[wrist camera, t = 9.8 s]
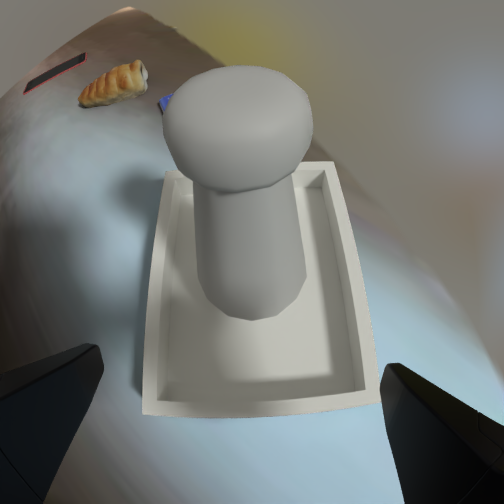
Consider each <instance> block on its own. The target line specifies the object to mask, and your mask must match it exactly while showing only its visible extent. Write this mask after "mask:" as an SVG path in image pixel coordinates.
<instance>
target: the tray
mask: <svg viewBox="0 0 504 504" xmlns="http://www.w3.org/2000/svg"><path fill="white" fill-rule="evenodd" d="M291 175H292V180H293V186H294V193H295V199H296V205H297V211H298V218H299V225H300V231H301V238H302V244H303V249H304V255H305V264H306V274H307V278H306V280H305V282H304V284H303V286H302V288H301V290H300V293H299V295H298V297H297V298H296V300H295V301H294V302H292V303H291V304H290V305H289V306H288V307H286V308H285V309H284V310H283V311H282V312H280V313H279V314H278V315H277V316H274V317H269V318H264V319H259V320H255V321H249V320H244V319H239V318H234V317H229V316H227V315H226V314H225V313H223V312H222V311H221V310H220V309H218V308H217V307H216V306H215V305H213V304H212V303H211V302H210V301H209V300H208V299H207V298H206V296H205V293H204V291H203V289H202V287H201V284H200V282H199V280H198V273H197V259H196V243H195V225H194V203H193V181H192V180H190V179H189V178H187V177H185V176H184V175H183V174H182V173H181V172H180V171H179V170H174V171H166V172H165V178H164V183H163V189H162V194H161V200H160V206H159V212H158V219H157V225H156V232H155V239H154V247H153V254H152V263H151V271H150V280H149V290H148V300H147V312H146V325H145V340H144V359H143V392H142V414H145V415H156V416H170V417H189V418H254V417H273V416H287V415H298V414H308V413H317V412H325V411H333V410H339V409H346V408H352V407H358V406H364V405H369V404H375V403H380V402H381V396H380V382H379V374H378V366H377V358H376V351H375V344H374V337H373V331H372V325H371V319H370V313H369V307H368V302H367V297H366V291H365V286H364V281H363V276H362V271H361V267H360V262H359V258H358V253H357V249H356V244H355V240H354V236H353V232H352V228H351V224H350V220H349V216H348V212H347V208H346V204H345V201H344V197H343V193H342V190H341V186H340V183H339V179H338V176H337V172H336V169H335V166H334V162H300V164H299V165H298V167H297V168H296V170H295V171H294V172H293V173H292V174H291Z"/></svg>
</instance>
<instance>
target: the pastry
mask: <svg viewBox="0 0 504 504" xmlns="http://www.w3.org/2000/svg"><path fill="white" fill-rule="evenodd" d="M147 78H148V73H147V70H146V69H145V67H144V65H143V63H142V62H141V61H140V60H136V61H135V62H134V63H131V64H126V65H121V66H118V67H114V68H112V69H111V70H110V72H108V73H104V74H103V75H102V76H101V77H99V78H97V79H95V80H94V82H93V83H91V84H89V85H88V86H87V87H86V88H85V89H84V90H83V92H82V93H81V95H80V96H79V97H78V101H79V102H80V103H81V104H82V105H83V106H85V107H87V108H92V107H96V106H108V105H111V104H113V103H117V102H120V101H124V100H128V99H131V98H134V97H137V96H139V95H142V94H143V93H145V91H146V90H147V82H146V80H147Z"/></svg>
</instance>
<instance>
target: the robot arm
mask: <svg viewBox="0 0 504 504" xmlns="http://www.w3.org/2000/svg"><path fill="white" fill-rule="evenodd" d="M103 372H104V364H103V360H102V356H101V352H100V349H99V347H98V346H97V345H95V344H90V343H85V344H82V345H80V346H77V347H74V348H72V349H69V350H66V351H64V352H61V353H58V354H56V355H53V356H50V357H47V358H45V359H42V360H39V361H36V362H34V363H31V364H28V365H25V366H22V367H20V368H17V369H14V370H11V371H8V372H6V373H4V374H0V504H43V502H44V500H45V497H46V495H47V493H48V491H49V488H50V486H51V484H52V482H53V480H54V477H55V475H56V473H57V471H58V469H59V467H60V465H61V462H62V460H63V458H64V456H65V454H66V452H67V450H68V448H69V446H70V444H71V442H72V440H73V438H74V436H75V434H76V432H77V430H78V428H79V426H80V424H81V422H82V420H83V418H84V416H85V415H86V413H87V411H88V409H89V406H90V404H91V402H92V399H93V397H94V394H95V392H96V389H97V387H98V384H99V382H100V379H101V377H102V374H103ZM380 396H381V402H382V408H383V414H384V420H385V426H386V432H387V436H388V439H389V443H390V447H391V450H392V454H393V458H394V462H395V465H396V469H397V473H398V477H399V481H400V485H401V490H402V494H403V498H404V503H405V504H504V426H503V425H501V424H499V423H497V422H495V421H494V420H492V419H490V418H488V417H487V416H485V415H483V414H482V413H480V412H478V411H477V410H475V409H473V408H472V407H470V406H469V405H467V404H465V403H464V402H462V401H460V400H459V399H457V398H455V397H454V396H452V395H451V394H449V393H447V392H446V391H444V390H442V389H441V388H439V387H438V386H436V385H434V384H433V383H431V382H429V381H428V380H426V379H425V378H423V377H421V376H420V375H418V374H417V373H415V372H413V371H412V370H410V369H409V368H407V367H405V366H404V365H402V364H401V363H389V364H387V365H386V367H385V369H384V373H383V376H382V380H381V383H380Z"/></svg>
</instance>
